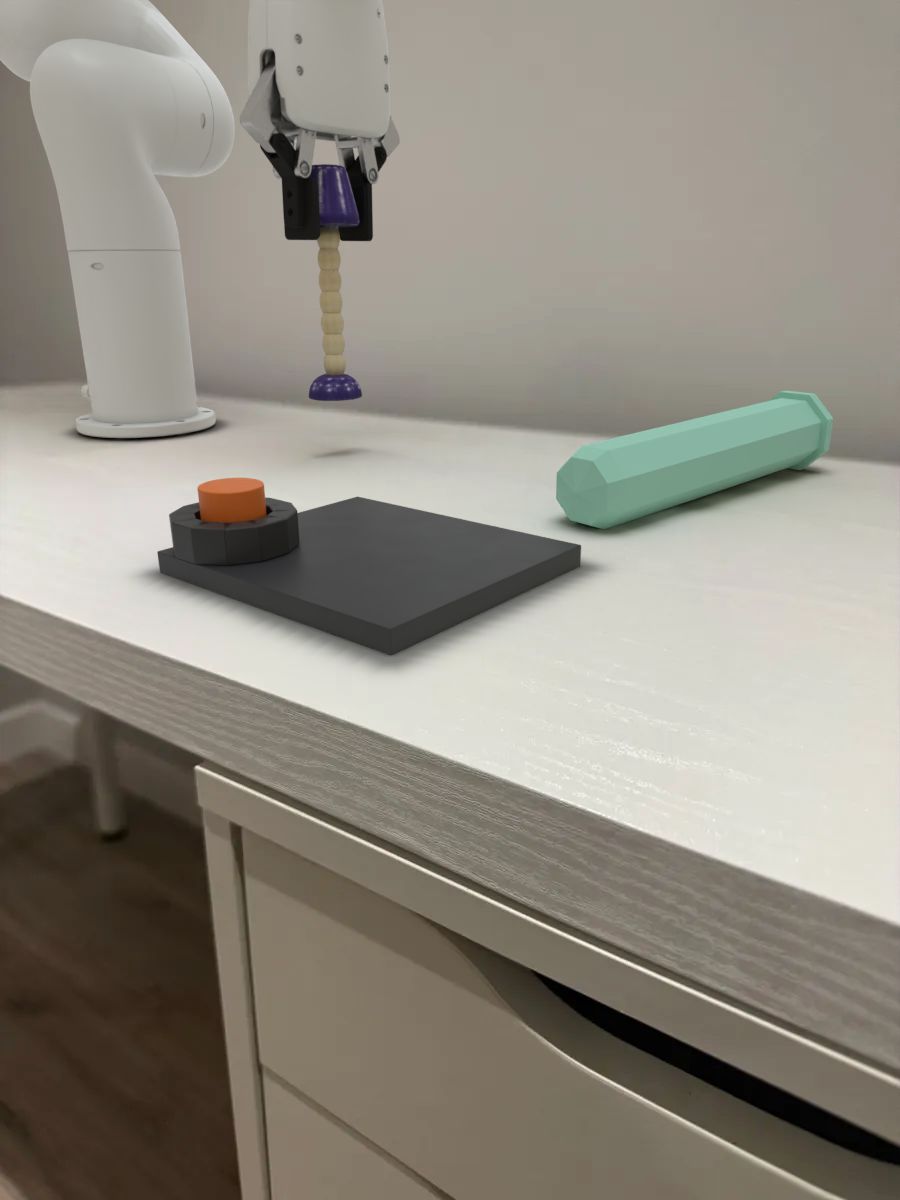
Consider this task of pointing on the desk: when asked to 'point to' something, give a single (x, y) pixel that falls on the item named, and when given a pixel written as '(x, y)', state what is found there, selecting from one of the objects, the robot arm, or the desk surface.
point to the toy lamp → (333, 281)
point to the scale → (363, 566)
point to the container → (691, 459)
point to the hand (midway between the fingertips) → (329, 237)
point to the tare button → (232, 500)
